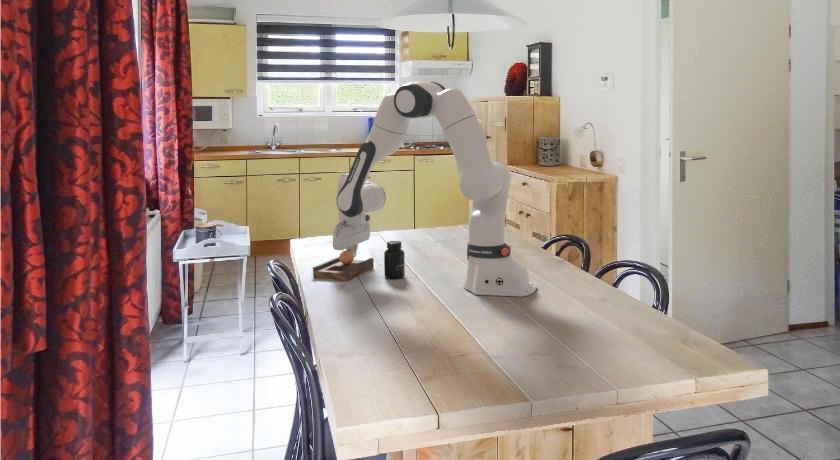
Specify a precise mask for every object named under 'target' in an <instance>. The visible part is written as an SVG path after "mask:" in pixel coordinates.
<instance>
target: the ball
mask: <svg viewBox="0 0 840 460" xmlns="http://www.w3.org/2000/svg"><path fill="white" fill-rule="evenodd" d="M338 257H339V259H340V262H341V263H342V264H345V265H348V264H351V263H352V262H353V260H355V257H354V256H353V254H352V252H350V251H347V250H346V249H345V250H342V252H340V254H339V256H338Z"/></svg>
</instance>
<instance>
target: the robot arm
mask: <svg viewBox="0 0 840 460" xmlns="http://www.w3.org/2000/svg"><path fill="white" fill-rule="evenodd" d="M430 117H434V118H435V119H436V120H437V122H438V123H439V125H440V127H441V130H442V132H443V134H444V137H445V138H446V140H447V142H448V145H449V147H450V148H451V151H452V154H453V156H454V160H455V163H456V168H457V171H458V175H459V179H460V180H459V188H460V190H461V193H462V195H463V196H464V197H465V198H466V199H468V200H470V201H472V204H471V210H470V213H469V216H468V242H467V243H466V244H467V247H466V256H467V259H466V261H467V269H466V276H465V280H464V283H463V284H464V285H463V288H464V289H465V290H467V291H469V292H470V293H472V294H474V295H475V296H477V295H479V296H497V297H500V296H502V297H523V298H524V297H527V296H530V295H532V294H534V292H536V290H537V284H536V283H535V282H532V281H530V277H529V273H528V272H529V271H528V269H527V267H525V266H524V265H523V264H522V263H521V262H519V261H518V260H517V259H516V258H515V257H513V256H512V255H511V250H512V244H511V245H508V244H507V243H506V241H505V221H506V220H505V219H506V210H507V204H508V198H509V190H510V189H509V188H510V183H511V181H512V180H511V179H512V175H511V173H510V170H509V168H508V167H507V166H506V165H505V164H503V163H501V162H499V161H492V159H491V156H490V153H489V152H490V151H489V148H488V138H487V137H486V134H485V132H484V130H483V127H482V126H481V123H480V121H479V119H478V117H477V115H476V113H475V111H474V109H473V107H472V105H471V104H470V102H469V101H468V99H467V98H466V95H464V93H463V92H462V91H461V90H460V89H457V88H456V87H455V88H446V87H445V86H444V85H442V84H441V83H439V82H435V81H423V80H422V81H415V82H407V83H405V84H402V85H401V86H399V88H398V89H396V91H395V92H390V93H387V94H386V95H385V96H384V97H383V98H382V100H381V103H380V104H379V106H378V108H377V111H376V114H375V116H374V119H373V122H372V123H373V124H372V125H371V126H372V127H371V129H370V131H369V133H368V135H367V137H366V138H365V140H364V142H363V143H362V144H361V146H360V147H359V149H358V151H357V153H356V155H355V158H354V160H353V162H352V165H351V167H350V170H349V172H348V173H344V174H341V175H340V176H339V177H338V179H337V187H336V188H337V189H336V190H337V191H336V194H337V195H336V206H337V217H338V221H337V223H336V225H335V227H334V229H333V231H332V232H333V233H332V247H333V250H334V251H335V250H336V251H344V250H345V251H346V250H347V251H350V252H352V254H353V256H354V258H356V257H357V251H358V248H359V244H361V243H363V242H366V241H369V239H370V237H371V225H370V221H371V215H370V214H369V213H371V212H375V211H376V212H377V211H379V210H382V208H383V207H384V206H385V204H386V199H387V198H386V197H387V195H386V191H385V190H384V188H383V187H382V186H381V185H380V184H378V183H374V182H372V181H370V180H368V178H369V175H370V172H371V170H372V169H373V167H374V166H375V165H376V164H377V163H379V162H380V161H381V160H382V159H385V158H386V157H388V156H390V155H393V154H395V153H396V152H397V151H399V150H400V148H401V146H402V144H403V143H404V141H405V138H406V133H407V130H408V127H409V124H410V121H411V120H412V119H418V118H422V119H424V118H430Z"/></svg>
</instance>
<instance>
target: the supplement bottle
mask: <svg viewBox="0 0 840 460" xmlns="http://www.w3.org/2000/svg"><path fill="white" fill-rule="evenodd" d="M386 248H387V249H386V250H385V251H384V253H383V254H384V255H383V256H384V257H383V261H384V262H383V263H384V267H383V268H384V277H385V278H386V279H389V280H400V279H403V278H404V277H405V276H406V274H405V273H406V271H405V270H406V269H405V268H406V267H405V266H406V265H405V261H406V260H405V254H406V253H405V251H404V250H403V249H402V248H403V246H402V241H398V240H390V241H387V242H386Z"/></svg>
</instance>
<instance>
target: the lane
mask: <svg viewBox="0 0 840 460" xmlns="http://www.w3.org/2000/svg"><path fill="white" fill-rule="evenodd" d="M374 267H375V265H374V258H373V257H370V258H367V259H365V260H363V259H362V260H361V259H353V262H352V263H351V264H348V265H345V264H342V263H341V262H340V259H339V256H337V257H335V258H332V259H331V260H330V259H329V260H327V261H325V262H322V263H320V264H317V265H316V266H313V267H312V276H313V279H322V280H331V281H341V282H348V281H350V280H353V279H355V278H357V277H359V276H360V275H362V274H365V273H367V272H369V271H371V270H373V269H374Z"/></svg>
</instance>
